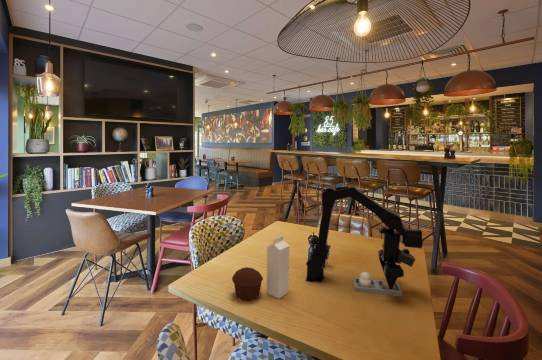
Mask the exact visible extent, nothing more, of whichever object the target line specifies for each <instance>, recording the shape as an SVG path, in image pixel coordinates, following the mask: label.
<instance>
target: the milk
mask: <svg viewBox="0 0 542 360" xmlns="http://www.w3.org/2000/svg"><path fill="white" fill-rule="evenodd" d="M272 242H273V243H272V244H269V245H267V246H266V248H267V249H266V252H267V253H266V293H267V295H270V296H272V297H274V298H277V299H281V298H282V297H284V296H285V295H287V294H288V293H289V287H290V286H289V283H290V281H289V279H290V272H289V271H290V245H289V244H288V243H287V242H286V240H284V235H282V236H280V237H278V238H277V237H276V238H275V239H273V240H272Z"/></svg>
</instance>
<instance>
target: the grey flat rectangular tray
mask: <svg viewBox="0 0 542 360" xmlns="http://www.w3.org/2000/svg"><path fill="white" fill-rule="evenodd" d="M352 281H353V291H354V292H361V293H369V294H378V295H379V294H380V295H388V296H395V297H403V290H402V289H401V286H400V284H399V282H398V281H396V282H395V288H394V290H386V289H382V285H383V279H382V280H380V279H372V278H371V288H368V287H359V277H353V280H352Z"/></svg>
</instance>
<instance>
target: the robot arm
mask: <svg viewBox="0 0 542 360" xmlns="http://www.w3.org/2000/svg"><path fill="white" fill-rule="evenodd" d="M348 198H352V200H354V201H355V202H357V203H359V204H360V205H361V206H362V207H364V208H365V209H367V210H368V211H370V212H371V213H373V214H374V215H375V216H376V217H377V218H378V219H379V220H380V221H381V223H383V224H384V225H383V226H382V227H380V228H379V229H378V233H380V234H383V243H382V245H381V246H382V247H381V248H382V249H380V250H378V254H377V255H378V261H379V263H380V265H381V268H382V272H383V276H385V277H386V280H387V283H388V286H389V289H393V286H394V284H395V282H397V279H399V278H403V277H404V275H405V270H404V269H403V267H402V266H401V265H400V264H401V263H403V264H404V265H407V266H408V267H411V268H412V267H413V265H414V263H415V262H416V258H415V257H414V255H412V253H410V250H409V249H407V248H412V249H413V248H414V249H423V246H424V245H423V243H424V242H423V231H422V229H411V228H409V229H408V228H406V226H405V225H404V224H403V222H402V221H403V220H402V217H401V215H400V214H399V213H398V212H397V211H395V210H392V209H391V208H389V207H385V206H384V205H381V204H380V203H378V202H377V201H375V200H374V199H373V198H371V197H370V196H368V195H367V194H366V193H364V192H363V191H361V190H360V189H359V188H357V187H356V186H355V185H349V186H338V187H335V186H333V185H329V186H328V187H326V188H325V189H324V190H323V191H322V194H321V205H322V212H321V219H320V224H319V230H318V236H317V237H318V238H317V241H316V244H315V247H314V249H313V252H312V253H311V254H310V255H309V257H308V259H307V260H306V263H305V264H306V278H305V281H307V282H315V283H316V282H317V283H319V282H320V283H322V282H323V280H324V273H325V268H324V267H323V264H325V263H326V261H328V260H329V256H330V250H331V247H332V246H331V244H328V239H329V232H330V228H331V227H330V226H331V221H332V215H333V210H334V208H335V205H336V203H337V201H338V200H342V199H348ZM400 242H401V243H400ZM400 244H402V245H403V246H404V247H405V248H403V249H402V250H401V249H400Z"/></svg>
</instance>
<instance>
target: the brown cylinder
mask: <svg viewBox="0 0 542 360" xmlns="http://www.w3.org/2000/svg"><path fill="white" fill-rule="evenodd" d="M382 281H383V285H382V289H386V290H394V288H395V284H394V286H393V289H389V286H388V283H387V280H386V277H385V275H383V278H382Z"/></svg>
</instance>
